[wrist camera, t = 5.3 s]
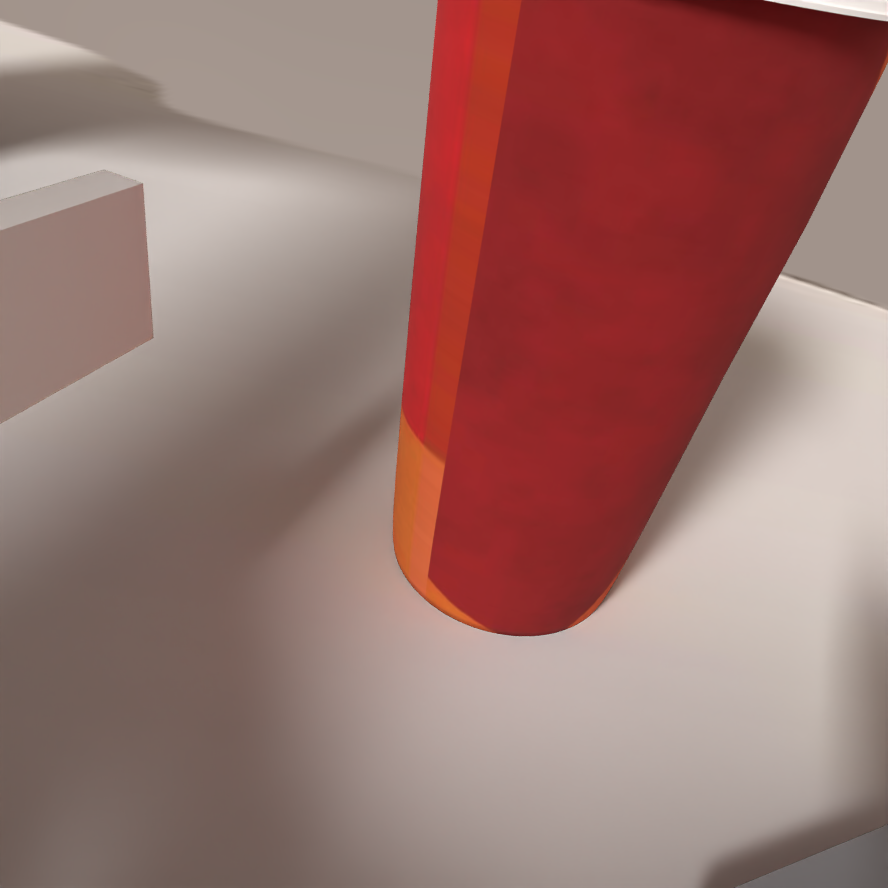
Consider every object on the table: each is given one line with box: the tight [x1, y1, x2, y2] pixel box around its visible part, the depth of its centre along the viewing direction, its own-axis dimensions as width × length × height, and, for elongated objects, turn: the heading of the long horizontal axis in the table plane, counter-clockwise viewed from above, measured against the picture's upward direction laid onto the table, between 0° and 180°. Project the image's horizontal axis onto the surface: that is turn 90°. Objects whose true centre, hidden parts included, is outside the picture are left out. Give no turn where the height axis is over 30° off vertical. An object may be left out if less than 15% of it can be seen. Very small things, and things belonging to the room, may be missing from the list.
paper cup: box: [393, 0, 888, 636], centre depth 15 cm, size 8×8×14 cm
